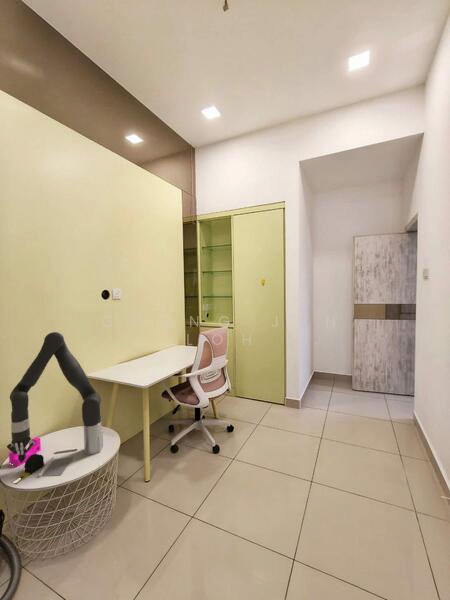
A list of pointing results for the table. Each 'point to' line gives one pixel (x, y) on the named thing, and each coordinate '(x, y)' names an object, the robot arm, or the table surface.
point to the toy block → (34, 449)
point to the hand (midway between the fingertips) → (22, 460)
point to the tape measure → (32, 465)
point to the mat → (55, 467)
